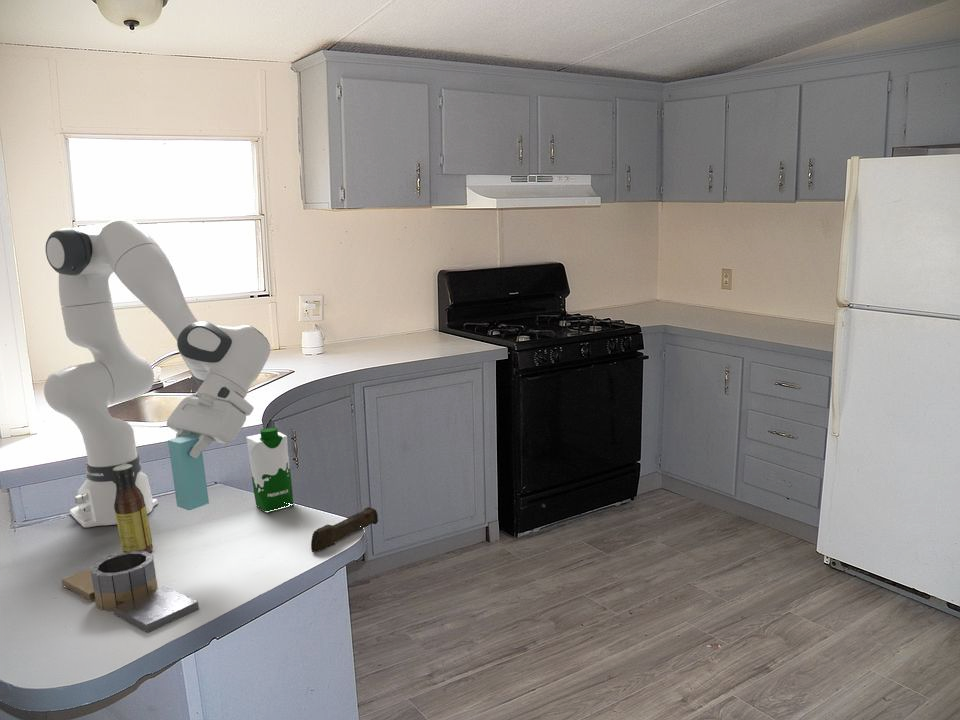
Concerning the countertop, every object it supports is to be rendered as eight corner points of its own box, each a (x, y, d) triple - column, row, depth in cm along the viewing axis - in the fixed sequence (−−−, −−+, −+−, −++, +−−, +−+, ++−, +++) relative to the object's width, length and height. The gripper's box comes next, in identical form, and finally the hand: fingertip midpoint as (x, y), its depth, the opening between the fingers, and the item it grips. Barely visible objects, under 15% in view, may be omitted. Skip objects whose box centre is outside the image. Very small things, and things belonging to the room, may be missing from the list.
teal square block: (177, 506, 165) (167, 440, 163) (197, 499, 169) (188, 434, 166) (189, 510, 163) (179, 443, 160) (209, 503, 166) (200, 437, 163)
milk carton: (264, 515, 195) (254, 435, 191) (251, 506, 202) (241, 428, 198) (298, 506, 200) (289, 427, 196) (284, 497, 207) (275, 421, 203)
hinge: (60, 586, 163) (54, 554, 161) (113, 566, 171) (108, 535, 170) (145, 633, 141) (139, 596, 140) (200, 608, 149) (195, 572, 148)
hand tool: (367, 521, 187) (365, 502, 186) (379, 524, 185) (377, 505, 184) (303, 552, 172) (301, 531, 172) (316, 555, 170) (314, 535, 169)
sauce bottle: (141, 545, 182) (128, 460, 178) (159, 549, 178) (146, 463, 175) (115, 556, 176) (101, 469, 172) (133, 561, 173) (120, 472, 169)
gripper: (181, 383, 173) (145, 439, 168) (237, 393, 160) (199, 454, 155) (203, 399, 177) (167, 454, 172) (259, 409, 164) (222, 469, 159)
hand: (183, 454), depth 163 cm, fingers closed on teal square block, 4 cm apart
